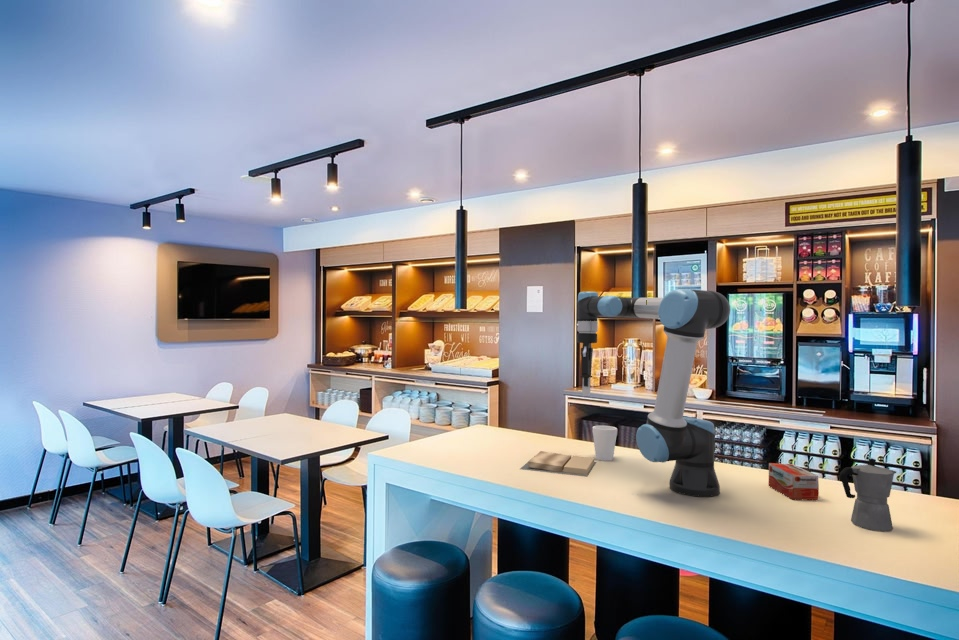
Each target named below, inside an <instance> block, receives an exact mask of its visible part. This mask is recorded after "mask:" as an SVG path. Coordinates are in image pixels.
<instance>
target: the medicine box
mask: <svg viewBox="0 0 959 640" xmlns="http://www.w3.org/2000/svg"><path fill="white" fill-rule="evenodd" d="M819 485H820V484H819V476H818V475H817V474H815V473H814V472H810V471H809V470H807V469H803V468H802V467H799V466H798V465H796V464H793V463H774V462H769V463H768V487H769V486H770V487H769V488H771V487H772V488H771V489H773V490H774V489H775V490H774V491H776V490H777V491H776V492H778V493H779V492H780V494H781V493H782V494H781V495H783V494H784V495H785V497H786V496H787V497H786V498H788V497H789V498H788V499H790V500H791V499H793V500H792V501H802V499H803V501H816V500H818V501H819V494H820V492H819V490H820V489H819V488H820V487H819ZM784 495H783V496H784ZM795 499H796V500H795Z"/></svg>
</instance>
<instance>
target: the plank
mask: <svg viewBox="0 0 959 640" xmlns="http://www.w3.org/2000/svg"><path fill="white" fill-rule="evenodd" d="M571 458H572V455H571V454H565V453H564V454H563V453H556V452H549V451H542V450H540V451H539V452H538V453H537V454H535V455H534V456H533V457H532V458H531V459H529V460H530V461H529V460H528V461H529V465H528V467H531V468H538V469H544V470H550V471H557V472H562V471H563V469H564V466H565V465H566V464H567V463H568V461H569V460H570V459H571Z"/></svg>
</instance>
